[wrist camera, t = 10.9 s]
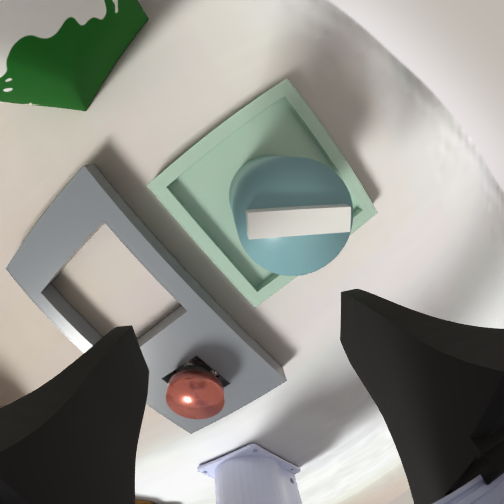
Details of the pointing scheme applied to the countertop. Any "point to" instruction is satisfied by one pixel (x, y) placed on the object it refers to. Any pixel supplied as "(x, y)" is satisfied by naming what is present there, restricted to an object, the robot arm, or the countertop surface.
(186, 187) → the tray
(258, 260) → the rotary knob
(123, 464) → the robot arm
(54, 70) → the milk carton
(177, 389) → the plunger
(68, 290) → the countertop surface
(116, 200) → the housing
